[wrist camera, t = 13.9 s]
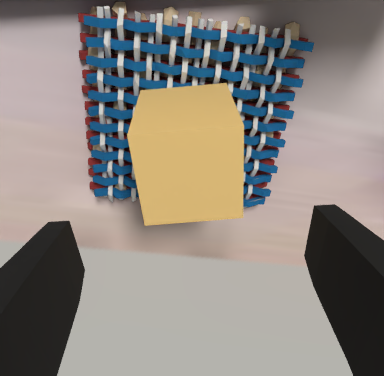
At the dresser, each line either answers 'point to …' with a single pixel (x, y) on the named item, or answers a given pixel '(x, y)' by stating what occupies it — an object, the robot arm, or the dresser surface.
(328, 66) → the dresser surface
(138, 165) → the ochre block
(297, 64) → the woven mat
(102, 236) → the dresser surface
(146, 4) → the dresser surface
